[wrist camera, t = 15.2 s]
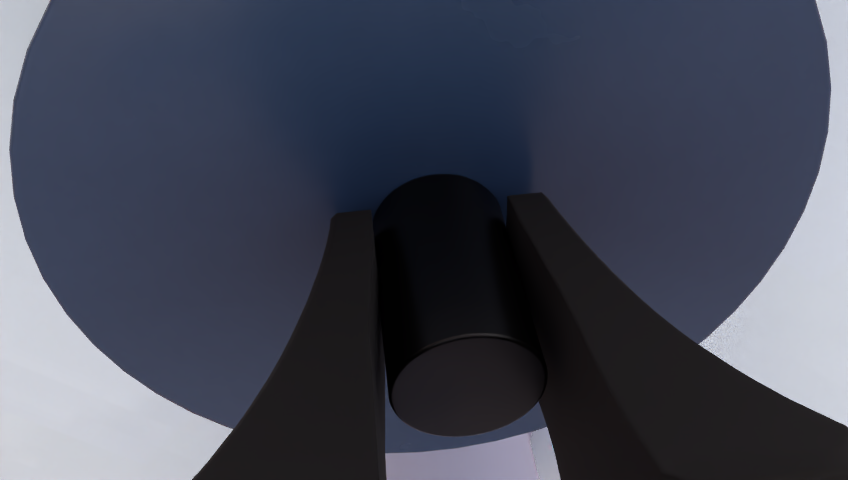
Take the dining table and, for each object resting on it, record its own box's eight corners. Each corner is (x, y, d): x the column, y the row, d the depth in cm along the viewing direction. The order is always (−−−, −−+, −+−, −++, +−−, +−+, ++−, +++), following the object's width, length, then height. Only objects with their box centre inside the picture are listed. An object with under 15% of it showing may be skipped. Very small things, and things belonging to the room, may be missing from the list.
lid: (687, 398, 21) (768, 579, 18) (117, 435, 20) (76, 644, 16) (946, -220, 12) (1234, -104, 8) (-112, -253, 10) (-344, -125, 6)
